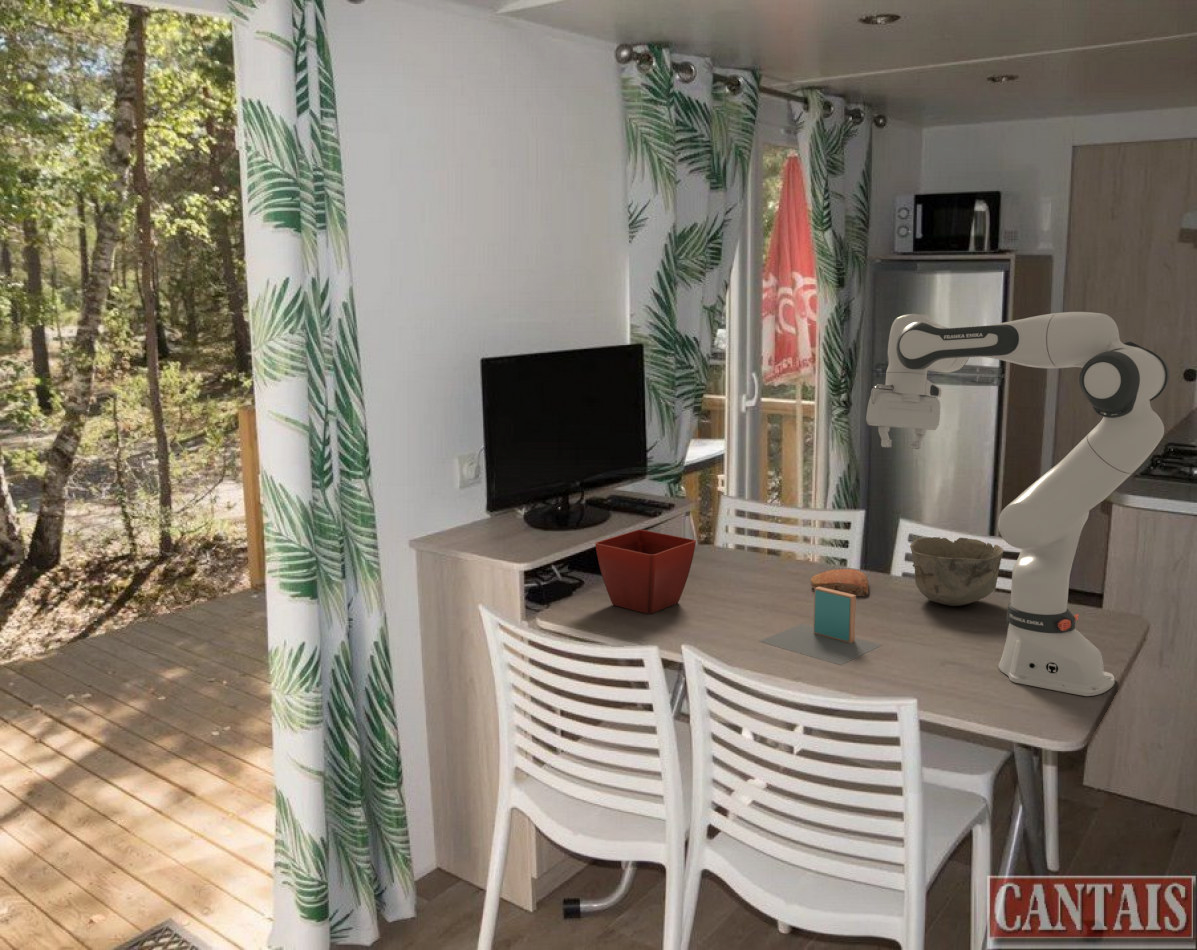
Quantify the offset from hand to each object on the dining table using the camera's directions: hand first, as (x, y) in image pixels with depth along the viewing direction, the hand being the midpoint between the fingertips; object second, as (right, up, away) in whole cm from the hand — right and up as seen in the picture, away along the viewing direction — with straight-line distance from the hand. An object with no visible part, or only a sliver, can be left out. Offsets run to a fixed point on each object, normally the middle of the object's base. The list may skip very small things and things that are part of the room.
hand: (900, 448), depth 242 cm
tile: (-14, -44, +7) cm, 46 cm away
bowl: (+22, -39, +32) cm, 55 cm away
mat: (-18, -45, +3) cm, 48 cm away
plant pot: (-56, -40, +35) cm, 77 cm away
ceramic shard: (-3, -37, +47) cm, 60 cm away
